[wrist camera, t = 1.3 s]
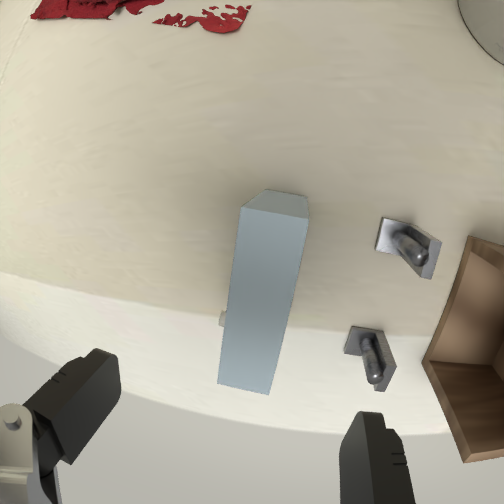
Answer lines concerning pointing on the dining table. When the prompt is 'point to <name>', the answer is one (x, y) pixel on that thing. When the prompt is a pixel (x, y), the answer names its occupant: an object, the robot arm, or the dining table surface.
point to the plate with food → (135, 12)
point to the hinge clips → (423, 263)
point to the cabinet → (472, 354)
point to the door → (261, 288)
